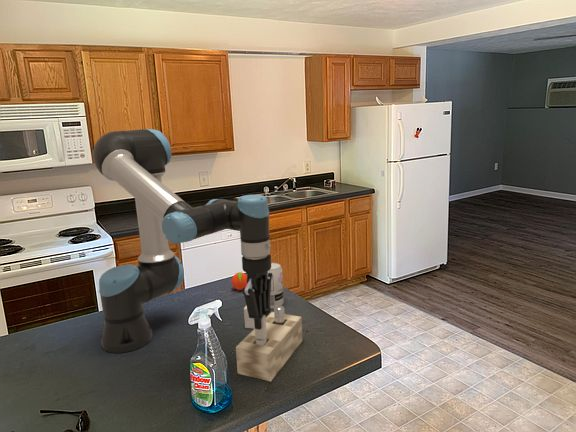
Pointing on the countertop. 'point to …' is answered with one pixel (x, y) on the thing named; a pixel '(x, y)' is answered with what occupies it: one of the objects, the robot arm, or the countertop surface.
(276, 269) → the supplement can
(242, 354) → the pin block
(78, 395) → the countertop surface
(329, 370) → the countertop surface
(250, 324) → the medicine bottle
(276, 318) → the pin
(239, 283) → the tomato
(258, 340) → the pin
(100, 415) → the countertop surface
